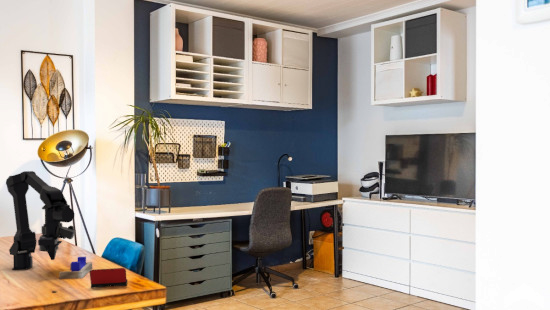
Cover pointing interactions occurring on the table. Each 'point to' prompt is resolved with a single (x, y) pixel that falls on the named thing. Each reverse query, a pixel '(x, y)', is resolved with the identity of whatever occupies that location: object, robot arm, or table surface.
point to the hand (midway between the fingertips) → (52, 259)
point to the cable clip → (78, 264)
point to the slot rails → (76, 272)
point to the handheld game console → (108, 277)
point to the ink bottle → (41, 237)
